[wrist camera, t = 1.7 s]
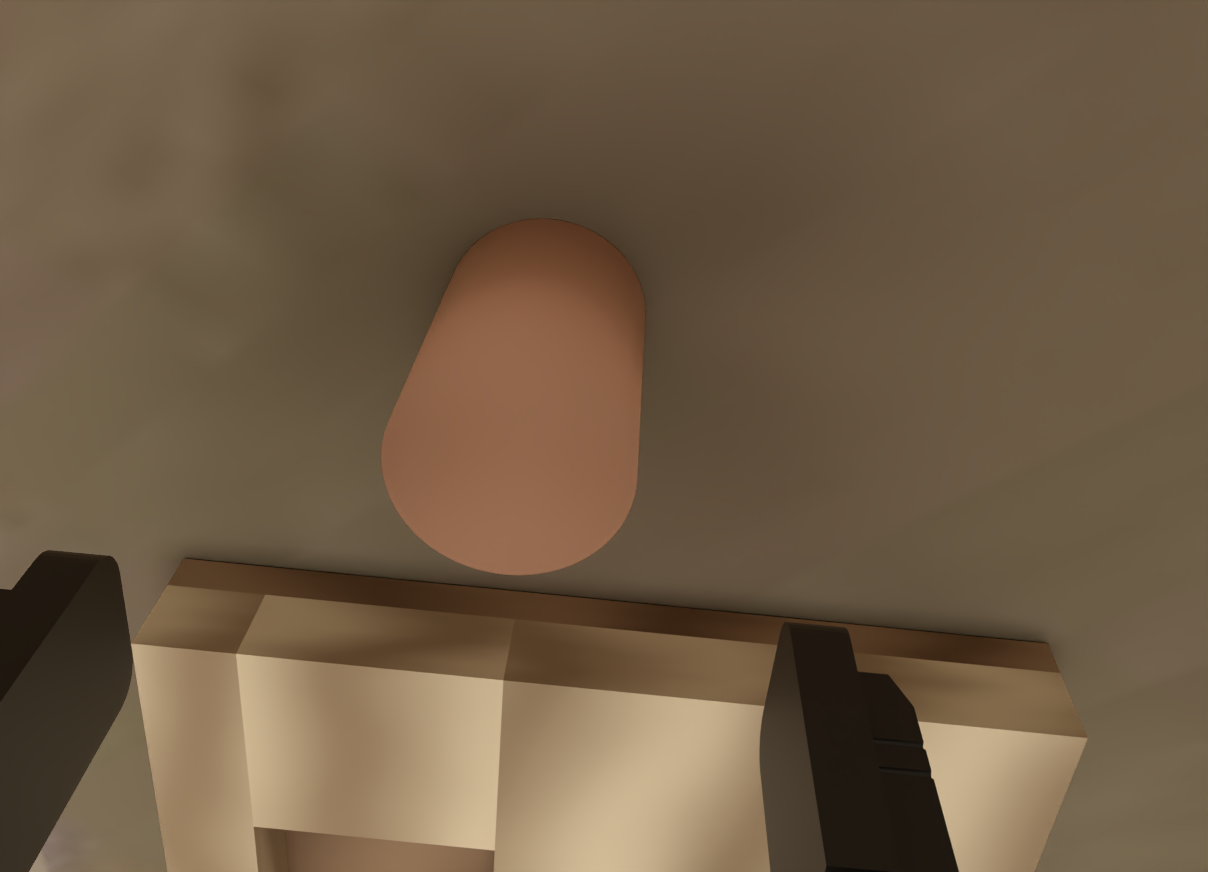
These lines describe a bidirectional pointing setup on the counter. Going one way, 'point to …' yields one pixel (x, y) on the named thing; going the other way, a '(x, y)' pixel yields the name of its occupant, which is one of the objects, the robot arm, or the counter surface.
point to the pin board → (537, 728)
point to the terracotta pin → (523, 403)
